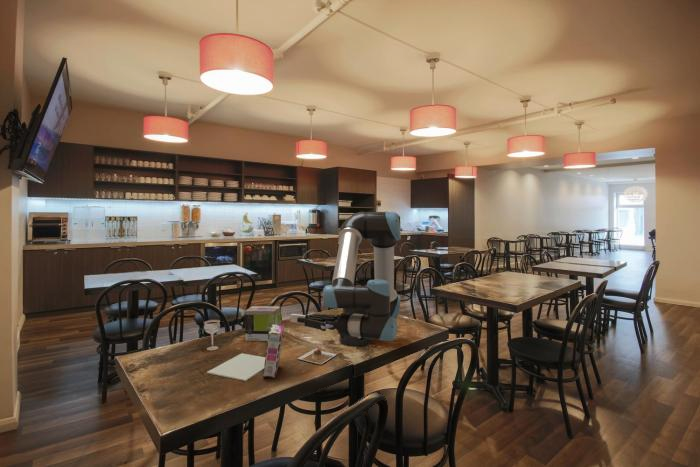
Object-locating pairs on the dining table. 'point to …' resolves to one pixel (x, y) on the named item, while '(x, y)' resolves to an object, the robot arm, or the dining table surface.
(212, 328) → the wineglass
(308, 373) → the dining table surface
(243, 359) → the mat
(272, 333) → the candy bar box
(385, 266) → the robot arm
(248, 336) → the tea box
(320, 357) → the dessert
